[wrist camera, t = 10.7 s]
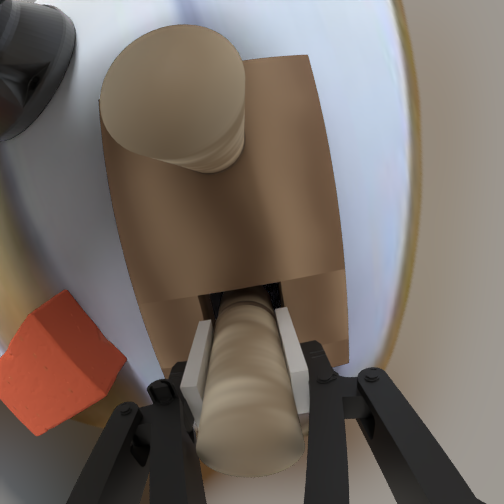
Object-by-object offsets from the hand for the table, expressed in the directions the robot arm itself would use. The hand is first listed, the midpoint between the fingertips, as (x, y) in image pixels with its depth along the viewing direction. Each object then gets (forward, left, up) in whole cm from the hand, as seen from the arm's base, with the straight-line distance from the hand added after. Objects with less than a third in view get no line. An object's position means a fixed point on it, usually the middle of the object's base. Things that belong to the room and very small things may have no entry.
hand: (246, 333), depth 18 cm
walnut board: (0, +6, -5) cm, 8 cm away
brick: (-22, -4, -6) cm, 23 cm away
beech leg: (0, 0, -5) cm, 5 cm away
